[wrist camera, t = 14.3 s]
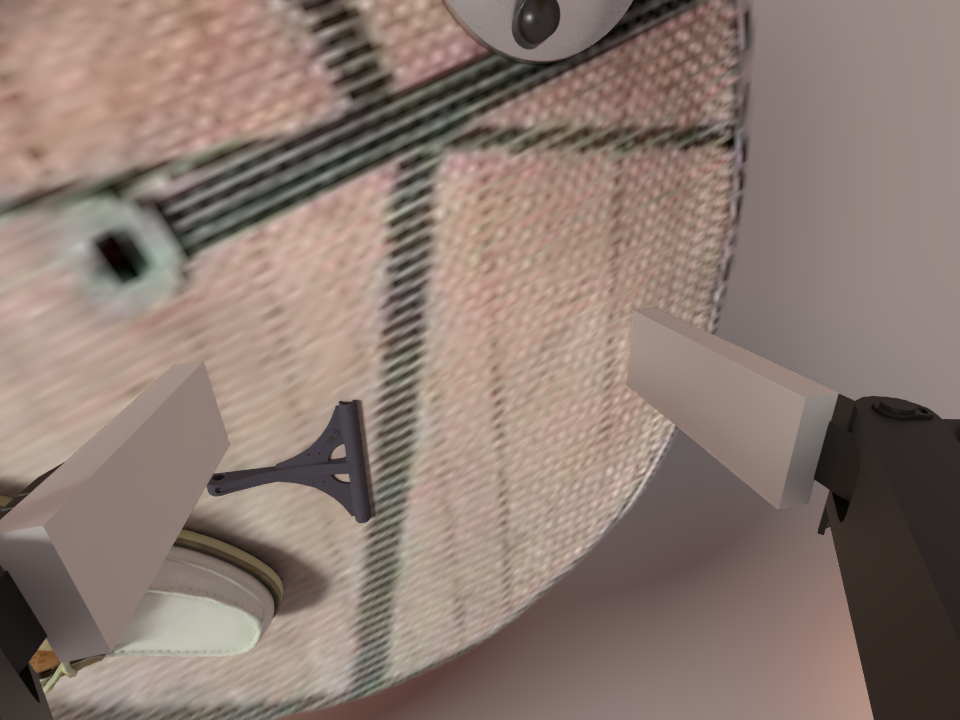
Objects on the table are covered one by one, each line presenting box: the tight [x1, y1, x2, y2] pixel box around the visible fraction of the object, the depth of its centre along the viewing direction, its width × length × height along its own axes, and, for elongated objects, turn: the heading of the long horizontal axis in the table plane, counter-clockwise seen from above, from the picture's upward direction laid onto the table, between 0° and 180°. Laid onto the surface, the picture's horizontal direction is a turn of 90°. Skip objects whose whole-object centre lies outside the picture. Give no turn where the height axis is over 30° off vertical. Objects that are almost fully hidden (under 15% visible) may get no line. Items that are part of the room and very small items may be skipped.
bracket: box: [207, 400, 371, 523], centre depth 45 cm, size 14×15×3 cm
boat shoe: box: [0, 494, 283, 694], centre depth 40 cm, size 13×36×12 cm, turn 63°
